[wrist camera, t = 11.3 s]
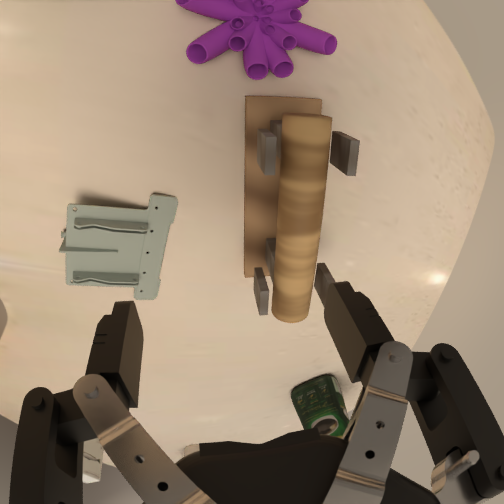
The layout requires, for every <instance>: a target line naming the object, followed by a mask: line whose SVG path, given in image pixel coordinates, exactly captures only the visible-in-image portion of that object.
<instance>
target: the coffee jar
mask: <svg viewBox="0 0 504 504" xmlns="http://www.w3.org/2000/svg"><path fill="white" fill-rule="evenodd" d="M291 399H292V402H293V404H294V407H295V409H296V412H297V414H298V416H299V418H300V421H301V423H302V425H303V428H304V430H306V429H311V428H316V427H317V428H318V431H319V434H326V435H332V436H336V437H339V438H342V437H343V435H344V432H345V430H346V428H347V426H348V424H349V421H350V420H349V417H348V414H347V410H346V407H345V403H344V399H343V396H342V392H341V389H340V386H339V384H338V381H337V380H336V379H335V378H334V377H333V376H328V375H325V376H321V377H318V378H316V379H313V380H311V381H309V382H306V383H304V384H302V385H300V386H298V387H296V388H295V389H294V390H293V392H292V393H291Z"/></svg>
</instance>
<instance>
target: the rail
mask: <svg viewBox="0 0 504 504" xmlns="http://www.w3.org/2000/svg"><path fill="white" fill-rule="evenodd" d="M331 125H332V118H331V117H328V116H324V115H318V114H310V113H283V114H282V136H281V159H280V179H279V199H278V217H277V234H276V250H275V266H274V281H273V296H272V313H273V315H274V316H275V317H276V318H277V319H278V320H280V321H283V322H287V323H296V322H300V321H302V320H304V319H305V318H306V317H307V316H308V312H309V306H310V300H311V294H312V288H313V281H314V275H315V268H316V261H317V254H318V247H319V239H320V232H321V224H322V216H323V207H324V199H325V190H326V180H327V171H328V160H329V149H330V138H331Z"/></svg>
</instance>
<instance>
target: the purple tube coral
mask: <svg viewBox="0 0 504 504" xmlns="http://www.w3.org/2000/svg"><path fill="white" fill-rule="evenodd" d="M175 1H176V3H177V4H178V5H180V6H181V7H183V8H185V9H187V10H189V11H192V12H195V13H197V14H201V15H204V16H207V17H211V18H215V19H219V20H223V21H227V22H225V23H223V24H221V25H219V26H217V27H216V28H214V29H212V30H210V31H209V32H207V33H205V34H204V35H202V36H200V37H199V38H197V39H196V40H194V41H193V42H192V43H191V44H190V45H189V46H188V48H187V50H186V54H187V57H188V59H189V60H190V61H191V62H193V63H196V64H202V63H205V62H207V61H209V60H211V59H213V58H215V57H217V56H218V55H220V54H222V53H223V52H225V51H227V50H228V49H232V50H233V51H237V52H238V51H242V50H243V62H244V68H245V71H246V73H247V75H248V76H249V77H250V78H252V79H255V80H259V79H263V78H264V77H265V76H266V75H267V74H268V71H269V70H270V71H271V72H272V73H273V74H274V75H275V76H277V77H280V78H285V77H287V76H289V75H290V74H291V73H292V72H293V68H294V66H293V63H292V61H291V59H290V58H289V56H288V54H287V53H286V51H285V50H292V49H294V48H295V47H296V46H298V47H301V48H303V49H306V50H309V51H312V52H316V53H320V54H325V55H330V54H332V53H333V52H334V51H335V50H336V47H337V39H336V38H335V36H333V35H332V34H329V33H327V32H325V31H322V30H319V29H316V28H314V27H311V26H308V25H306V24H303V23H300V22H297V21H299V20H300V19H301V17H302V15H301V12H300V11H299V10H298V9H297V8H299V7H301V6H303V5H304V4H306V3H307V2H308V1H309V0H175Z"/></svg>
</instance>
